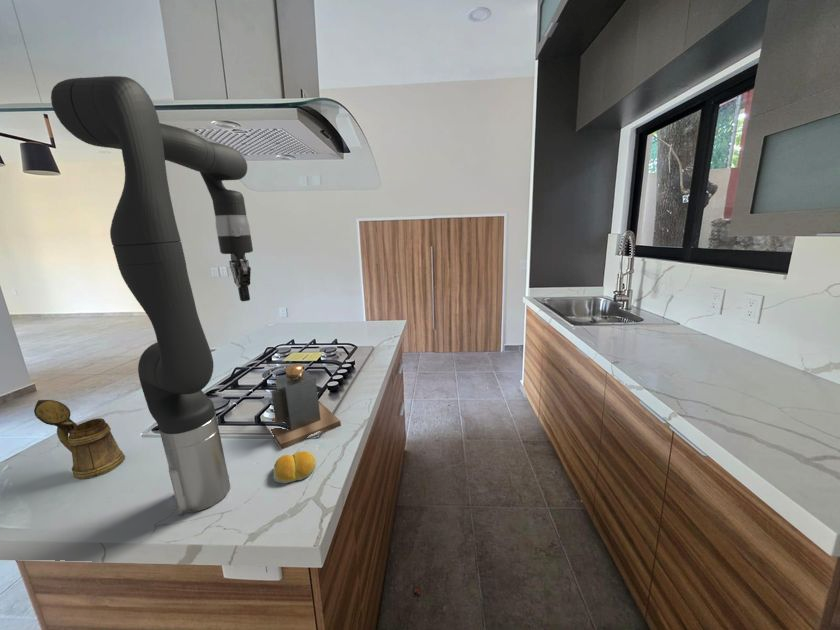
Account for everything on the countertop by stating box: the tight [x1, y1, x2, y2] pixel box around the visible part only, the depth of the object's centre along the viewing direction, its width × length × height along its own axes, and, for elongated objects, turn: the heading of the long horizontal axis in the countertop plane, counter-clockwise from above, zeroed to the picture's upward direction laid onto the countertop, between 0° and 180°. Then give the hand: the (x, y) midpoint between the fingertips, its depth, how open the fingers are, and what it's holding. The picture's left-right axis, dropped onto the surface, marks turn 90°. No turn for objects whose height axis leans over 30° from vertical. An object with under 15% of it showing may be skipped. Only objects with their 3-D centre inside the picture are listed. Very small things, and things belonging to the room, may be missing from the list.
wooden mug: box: [33, 399, 126, 480], centre depth 79 cm, size 9×14×18 cm, turn 93°
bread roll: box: [273, 450, 317, 484], centre depth 77 cm, size 8×9×4 cm
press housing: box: [270, 368, 321, 431], centre depth 93 cm, size 10×8×13 cm
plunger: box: [284, 363, 304, 380], centre depth 93 cm, size 6×6×14 cm
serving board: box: [271, 400, 342, 450], centre depth 96 cm, size 16×16×2 cm
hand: (245, 300), depth 91 cm, fingers closed
